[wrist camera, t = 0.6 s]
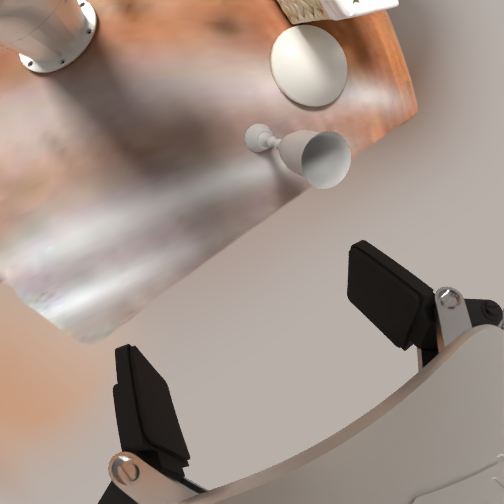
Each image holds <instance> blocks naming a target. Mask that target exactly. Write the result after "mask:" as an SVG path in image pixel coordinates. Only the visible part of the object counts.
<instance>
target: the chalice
mask: <svg viewBox="0 0 504 504" xmlns="http://www.w3.org/2000/svg"><path fill="white" fill-rule="evenodd" d="M245 143H246V146H247V147H248V148H249V149H250V150H251V151H254V152H262V151H265V150H266V149H268V148H270V147H275V148H276V149H279V153H280V156H281V159H282V160H283V162H284V163H285V164H286V166H287V167H288V169H290V170H291V171H293V172H295V173H297V174H299V175H301V176H303V177H305V179H306V180H307V182H308V183H310V184H311V185H312V186H314V187H317V188H321V189H325V188H330V187H333V186H335V185H337V184H338V183H339V182H340V181H341V180H342V179H343V178H344V177H345V175H346V174H347V172H348V169H349V166H350V161H351V153H350V147H349V145H348V143H347V142H346V140H345V139H344V138H343V137H342V136H341V135H339V134H337V133H335V132H328V131H325V132H322V133H318V132H314V131H310V130H300V131H296V132H293V133H290V134H288V135H287V136H286V137H284V138H283V139H277V138H276V137H274V136H273V133H272V132H271V130H270V128H269V127H268V126H266V125H265V124H261V123H258V124H254V125H252V126H251V127H249V128H248V130H247V131H246V134H245Z"/></svg>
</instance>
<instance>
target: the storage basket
mask: <svg viewBox="0 0 504 504" xmlns="http://www.w3.org/2000/svg"><path fill="white" fill-rule="evenodd" d="M276 1H278V3H279V4H280V6H281V8H282V10H283V12H284V13H285V14H286V15H287V17H288V19H289V20H290V22H291V23H292V24H299V23H304V22H311V21H319V20H327V19H332V20H335V21H337V20H342V19H346V18H353V17H358V16H362V15H366V14H370V13H374V12H377V11H381V10H386V9H390V8H393V7H396V6H398V5H399V3H398V0H276Z"/></svg>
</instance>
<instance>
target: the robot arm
mask: <svg viewBox="0 0 504 504" xmlns="http://www.w3.org/2000/svg"><path fill="white" fill-rule="evenodd" d="M84 5H85V6H84ZM82 6H83V7H82ZM96 24H97V18H96V13H95V10H94V9H93V7H92V5H91V4H90V3H89V2H87V1H85V0H0V46H3V47H5V48H8V49H10V50H12V51H15V52H17V53H19V57H20V60H21V62H22V63H23V65H24V66H25V67H26V68H28V69H29V70H31V71H34V72H38V73H48V72H53V71H56V70H59V69H61V68H63V67H65V66H67V65H68V64H70V63H71V62H73V61H74V60H75V59H76V58H78V57H79V56H80V55H81V54H82V53H83V51H84V50H85V49H86V48H87V46H88V45H89V43H90V42H91V40H92V38H93V36H94V33H95V30H96ZM89 32H91V33H90V34H88V33H89ZM63 61H65V62H64V63H63V64H62V62H63ZM32 63H33V64H32ZM31 64H32V66H31ZM347 296H348V299H349V300H350V302H351V303H352V304H354V305H355V306H356V307H357V308H358V309H359V310H360V311H361V312H362V313H363V314H364V315H365V316H366V317H367V318H368V319H369V320H370V321H371V322H372V323H373V324H374V325H375V326H376V327H377V328H378V329H379V330H380V331H381V332H383V334H384V335H385V336H387V338H388V339H390V340H391V341H392V342H393V343H394V344H395V345H396V346H397V347H399V348H402V349H403V350H404V351H405V350H407V349H408V348H409V347H410V346H412V345H413V344H414V345H415V346H417V355H418V369H419V372H418V373H417V374H416V375H415V376H414V377H413V378H411V379H410V380H409V381H408V382H407V383H405V384H404V385H403V386H402V387H401V388H399V389H398V390H397V391H396V392H394V393H393V394H392V395H391V396H389V397H388V398H387V399H385V400H384V401H383V402H381V403H380V404H379V405H377V406H376V407H375V408H373V409H372V410H370V411H369V412H368V413H366V414H365V415H363V416H362V417H361V418H359V419H357V420H356V421H354V422H353V423H351V424H350V425H348V426H347V427H345V428H343V429H342V430H340V431H339V432H337V433H335V434H334V435H332V436H330V437H329V438H327V439H325V440H323V441H322V442H320V443H318V444H316V445H314V446H313V447H311V448H309V449H307V450H305V451H303V452H301V453H299V454H298V455H295V456H293V457H291V458H289V459H287V460H285V461H283V462H281V463H279V464H277V465H274V466H272V467H270V468H268V469H265V470H263V471H261V472H258V473H255V474H253V475H251V476H248V477H246V478H243V479H240V480H238V481H235V482H233V483H230V484H227V485H224V486H221V487H218V488H215V489H213V490H210V491H209V490H207V489H205V488H203V487H201V486H199V485H198V484H196V483H194V482H192V481H191V480H189V479H187V478H185V477H184V476H185V475H184V472H183V469H182V468H183V467H187V466H189V464H188V461H187V460H189V459H190V455H189V452H188V449H187V446H186V443H185V441H184V438H183V435H182V432H181V429H180V426H179V423H178V419H177V416H176V414H175V409H174V406H173V403H172V399H171V396H170V392H169V388H168V385H167V383H166V381H165V380H164V379H163V378H162V377H161V376H160V374H159V373H158V372H157V371H156V370H155V369H154V368H153V366H152V365H151V364H150V363H149V362H148V360H147V359H146V358H145V357H144V356H143V354H142V353H141V352H140V351H139V350H138V348H137V347H136V346H131V345H130V344H127V345H124V346H122V347H119V348H116V349H115V358H116V372H117V381H118V384H116V385H114V387H113V396H114V404H115V412H116V419H117V425H118V431H119V437H120V443H121V448H122V452H120V453H118V454H116V455H114V456H113V457H112V458H111V460H110V462H109V467H108V471H109V475H110V478H111V480H112V481H111V483H110V484H109V486H108V488H107V489H106V491H105V493H104V494H103V496H102V498H101V499H100V501H99V503H98V504H504V309H503V311H502V309H501V308H500V306H499V305H498V304H497V303H496V302H494V301H492V300H482V299H481V300H480V299H464V298H463V296H462V295H461V293H460V292H459V291H457V290H456V289H454V288H451V287H442V288H440V289H438V290H437V291H436V294H434V293H433V289H432V288H430V287H429V286H428V285H427V284H425V283H424V282H422V281H421V280H420V279H419V278H417V277H416V276H415V275H413V274H412V273H410V272H409V271H408V270H407V269H405V268H404V267H402V266H401V265H400V264H398V263H397V262H395V261H394V260H393V259H391V258H390V257H388V256H387V255H386V254H384V253H383V252H381V251H380V250H378V249H377V248H375V247H374V246H372V245H371V244H370V243H368V242H367V241H365V240H361V241H359V242H358V243H356V244H353V245H352V246H351V250H350V251H349V266H348V288H347Z"/></svg>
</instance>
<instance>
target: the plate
mask: <svg viewBox="0 0 504 504" xmlns="http://www.w3.org/2000/svg"><path fill="white" fill-rule="evenodd" d="M270 68H271V72H272V75H273V78H274V80H275V82H276V84H277V86H278V87H279V88H280V90H281V91H282V92H283V93H284V94H285V95H286V96H287V97H288V98H290V99H291V100H293V101H294V102H297V103H299V104H302V105H306V106H323V105H327V104H329V103H331V102H332V101H334V100H335V99H336V98H337V97H338V96H339V95H340V94H341V92H342V91H343V89H344V87H345V84H346V80H347V73H348V69H347V61H346V57H345V54H344V52H343V50H342V48H341V46H340V45H339V43H338V42H337V41H336V39H335V38H334V37H333V36H332V35H330V34H329V33H328V32H326V31H325V30H323V29H321V28H319V27H316V26H312V25H298V26H294V27H291V28H289V29H287V30H285V31H283V32H282V33H281V34H280V35H279V36H278V37H277V38H276V40H275V41H274V43H273V45H272V48H271V52H270Z"/></svg>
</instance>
